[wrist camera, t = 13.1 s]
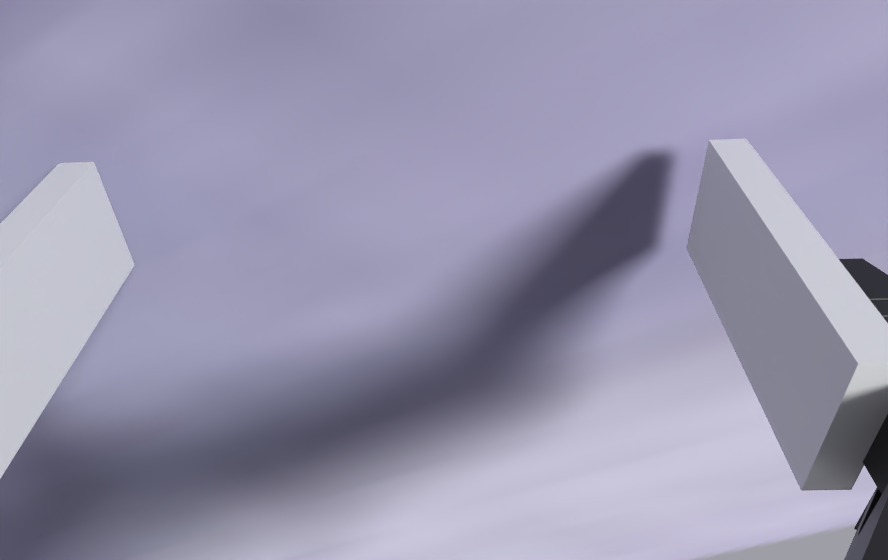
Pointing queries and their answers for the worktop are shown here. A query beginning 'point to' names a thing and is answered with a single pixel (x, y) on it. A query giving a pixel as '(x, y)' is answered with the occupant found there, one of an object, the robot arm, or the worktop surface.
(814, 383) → the robot arm
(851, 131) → the worktop surface
